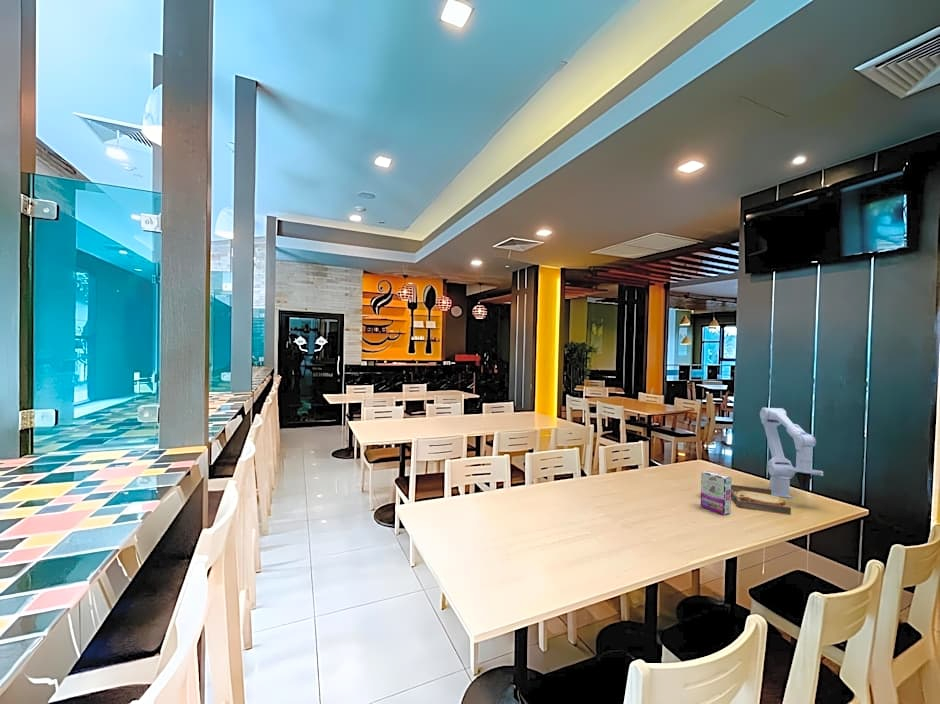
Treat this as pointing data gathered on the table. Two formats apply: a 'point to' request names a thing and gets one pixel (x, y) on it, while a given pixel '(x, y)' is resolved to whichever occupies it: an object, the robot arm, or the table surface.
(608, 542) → the table surface
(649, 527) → the table surface
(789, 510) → the frame
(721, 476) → the candy bar box
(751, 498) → the bread slice
